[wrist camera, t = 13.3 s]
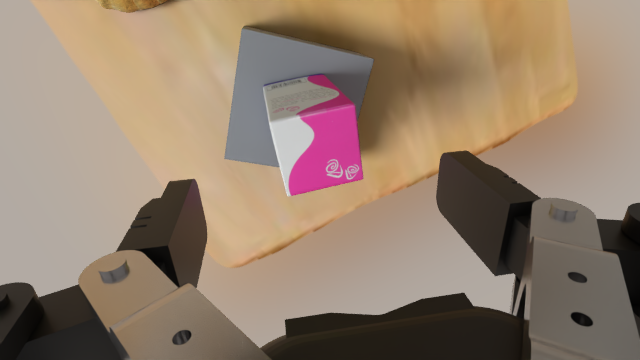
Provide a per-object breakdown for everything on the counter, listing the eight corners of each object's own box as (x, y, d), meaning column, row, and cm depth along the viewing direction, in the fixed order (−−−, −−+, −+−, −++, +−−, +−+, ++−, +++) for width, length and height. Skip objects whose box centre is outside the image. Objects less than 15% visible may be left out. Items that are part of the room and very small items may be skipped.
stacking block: (244, 25, 36) (241, 28, 31) (358, 52, 39) (374, 59, 34) (229, 139, 41) (224, 158, 36) (332, 156, 44) (342, 177, 38)
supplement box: (275, 144, 36) (284, 199, 25) (261, 83, 33) (265, 117, 23) (333, 132, 36) (365, 181, 26) (324, 71, 33) (356, 98, 23)
